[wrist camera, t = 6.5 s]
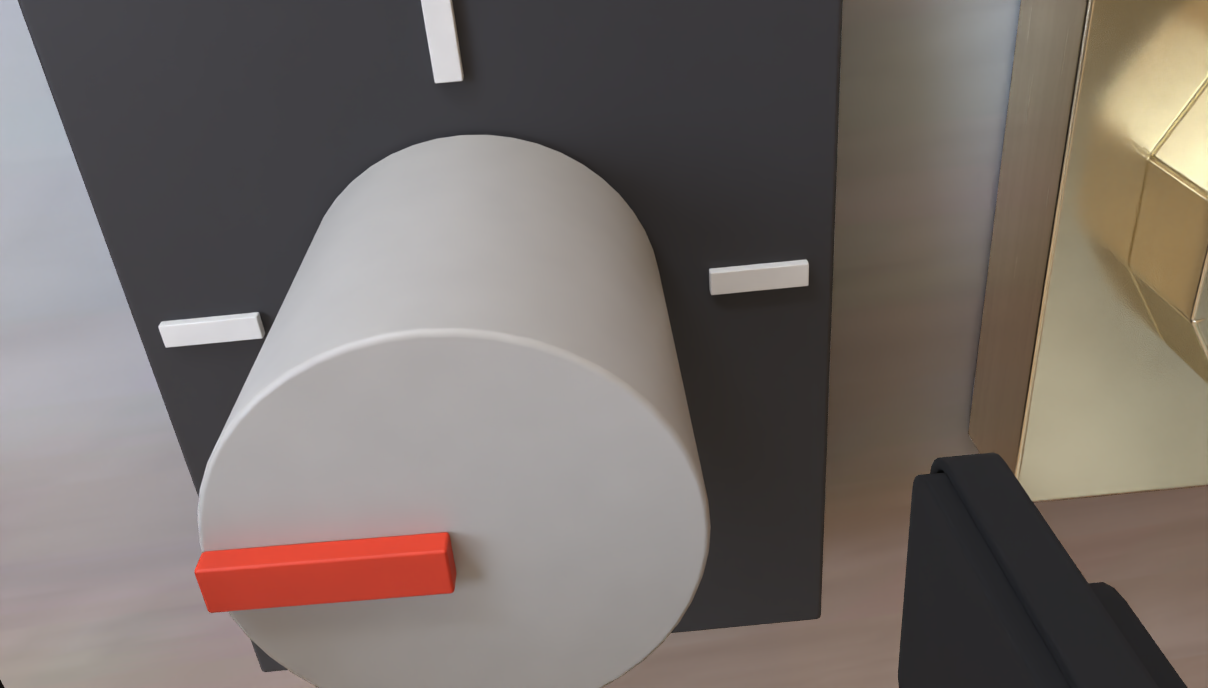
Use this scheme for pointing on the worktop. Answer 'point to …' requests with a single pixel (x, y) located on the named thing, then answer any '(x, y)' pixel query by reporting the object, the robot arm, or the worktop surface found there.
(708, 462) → the panel
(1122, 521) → the worktop surface
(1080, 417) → the button box
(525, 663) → the knob
